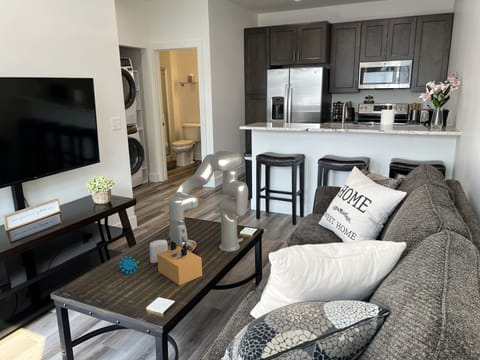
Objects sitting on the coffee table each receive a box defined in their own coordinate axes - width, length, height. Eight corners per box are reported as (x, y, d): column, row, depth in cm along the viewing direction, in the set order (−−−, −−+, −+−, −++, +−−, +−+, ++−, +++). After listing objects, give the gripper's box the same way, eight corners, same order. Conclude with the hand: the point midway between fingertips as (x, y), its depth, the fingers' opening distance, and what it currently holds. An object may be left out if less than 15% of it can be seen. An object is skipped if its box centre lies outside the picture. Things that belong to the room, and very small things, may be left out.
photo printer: (167, 257, 206) (166, 237, 203) (169, 260, 203) (168, 240, 200) (149, 261, 202) (148, 240, 199) (151, 264, 198) (149, 243, 195)
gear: (122, 274, 183) (117, 257, 188) (118, 279, 187) (113, 262, 191) (142, 270, 191) (137, 253, 195) (138, 275, 195) (133, 258, 199)
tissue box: (180, 262, 200) (179, 246, 197) (202, 275, 185) (201, 257, 183) (158, 271, 190) (157, 253, 188) (179, 285, 176) (178, 266, 174)
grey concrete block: (184, 265, 192) (183, 249, 190) (188, 267, 189) (188, 251, 187) (170, 271, 185) (169, 255, 183) (174, 274, 183) (174, 257, 181)
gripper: (193, 224, 177) (194, 255, 181) (174, 215, 190) (175, 245, 194) (180, 227, 172) (182, 260, 176) (161, 219, 185) (163, 249, 189)
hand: (178, 252), depth 185 cm, fingers open, 9 cm apart
